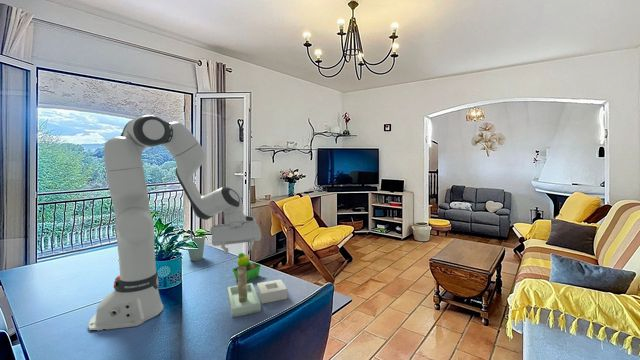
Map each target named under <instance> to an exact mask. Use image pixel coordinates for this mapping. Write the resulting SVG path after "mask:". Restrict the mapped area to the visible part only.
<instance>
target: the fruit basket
mask: <svg viewBox="0 0 640 360" xmlns="http://www.w3.org/2000/svg"><path fill="white" fill-rule="evenodd" d="M237 265H238V266H237V267H236V266H235V268H233V269H232V272H233V274H234V277H235V280H237V281H238V271H237V268H238V267H240V266H245V267H246V279H247V281H249V280H251V279H254V278H256V277H258V276H259V273H260V270H261V266H262V265H261V264H260V263H256V262H252V261H251V260H250V258H249V257H248V256H247V255H246V254H245V253H244V252H240V253H239V254H238V257H237Z"/></svg>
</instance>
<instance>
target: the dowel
mask: <svg viewBox="0 0 640 360" xmlns="http://www.w3.org/2000/svg"><path fill="white" fill-rule="evenodd" d="M237 267H238V268H237V271H238V280H237V286H238V293H239V302H246V301H247V284H248V280H247V279H246V267H245V266H240V267H239V266H237Z"/></svg>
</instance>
